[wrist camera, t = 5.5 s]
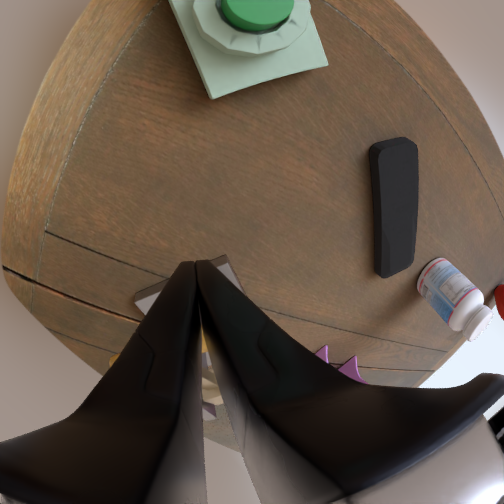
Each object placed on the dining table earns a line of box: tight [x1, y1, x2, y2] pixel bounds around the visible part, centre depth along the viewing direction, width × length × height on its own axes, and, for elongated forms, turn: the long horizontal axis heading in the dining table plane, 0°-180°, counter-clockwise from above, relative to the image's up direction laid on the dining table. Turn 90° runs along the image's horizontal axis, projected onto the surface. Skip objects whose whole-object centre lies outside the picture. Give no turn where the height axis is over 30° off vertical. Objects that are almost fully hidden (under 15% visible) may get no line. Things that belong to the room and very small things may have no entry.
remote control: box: [369, 137, 419, 278], centre depth 25 cm, size 5×2×15 cm
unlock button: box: [221, 0, 294, 31], centre depth 10 cm, size 4×4×2 cm
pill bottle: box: [417, 258, 493, 342], centre depth 28 cm, size 6×6×11 cm
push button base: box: [168, 0, 328, 99], centre depth 12 cm, size 10×8×4 cm
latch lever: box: [109, 325, 224, 405], centre depth 17 cm, size 11×6×2 cm, turn 19°
